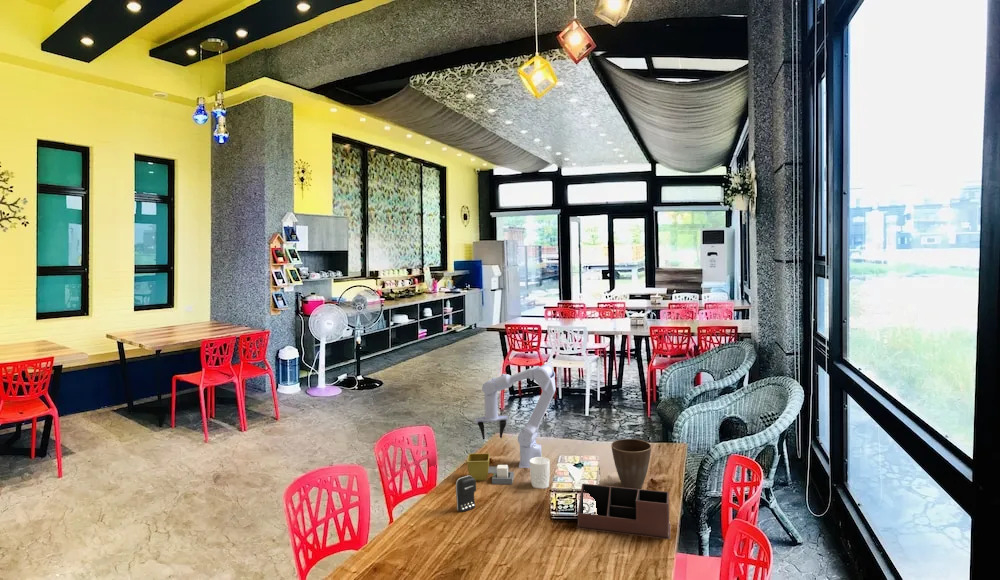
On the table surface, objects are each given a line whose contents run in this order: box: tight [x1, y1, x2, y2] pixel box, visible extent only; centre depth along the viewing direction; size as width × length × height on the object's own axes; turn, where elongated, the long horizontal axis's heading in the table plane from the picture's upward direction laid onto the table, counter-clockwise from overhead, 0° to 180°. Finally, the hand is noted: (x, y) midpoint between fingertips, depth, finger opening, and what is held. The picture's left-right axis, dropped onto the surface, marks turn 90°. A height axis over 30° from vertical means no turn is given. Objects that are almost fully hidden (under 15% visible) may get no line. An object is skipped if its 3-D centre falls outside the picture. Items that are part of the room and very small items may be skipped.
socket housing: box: [491, 470, 515, 485], centre depth 223 cm, size 8×8×3 cm
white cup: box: [529, 456, 551, 489], centre depth 217 cm, size 8×8×10 cm
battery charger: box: [455, 474, 477, 513], centre depth 198 cm, size 7×4×11 cm, turn 126°
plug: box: [497, 464, 509, 478], centre depth 223 cm, size 4×4×6 cm
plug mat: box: [488, 465, 510, 474], centre depth 235 cm, size 9×8×1 cm
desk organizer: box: [575, 483, 672, 540], centre depth 182 cm, size 10×29×11 cm, turn 72°
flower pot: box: [466, 452, 491, 482], centre depth 226 cm, size 9×9×9 cm
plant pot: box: [611, 438, 652, 489], centre depth 214 cm, size 15×15×16 cm
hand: (492, 438), depth 245 cm, fingers open, 7 cm apart
